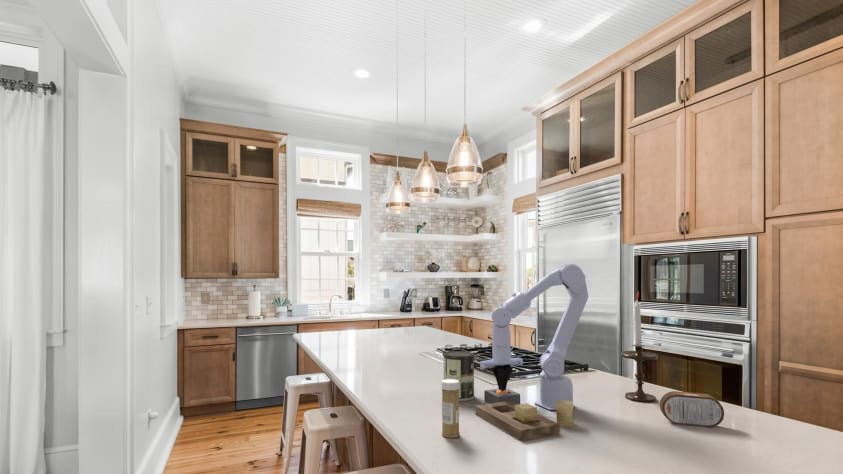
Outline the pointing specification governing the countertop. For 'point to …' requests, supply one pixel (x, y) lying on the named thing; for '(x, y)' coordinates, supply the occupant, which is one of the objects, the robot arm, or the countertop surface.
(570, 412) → the loose billet
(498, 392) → the button
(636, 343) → the candlestick
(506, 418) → the wooden socket board
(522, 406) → the block
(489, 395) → the button housing
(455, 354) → the coffee can
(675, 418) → the tin
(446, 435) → the sprinkles bottle
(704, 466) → the countertop surface
